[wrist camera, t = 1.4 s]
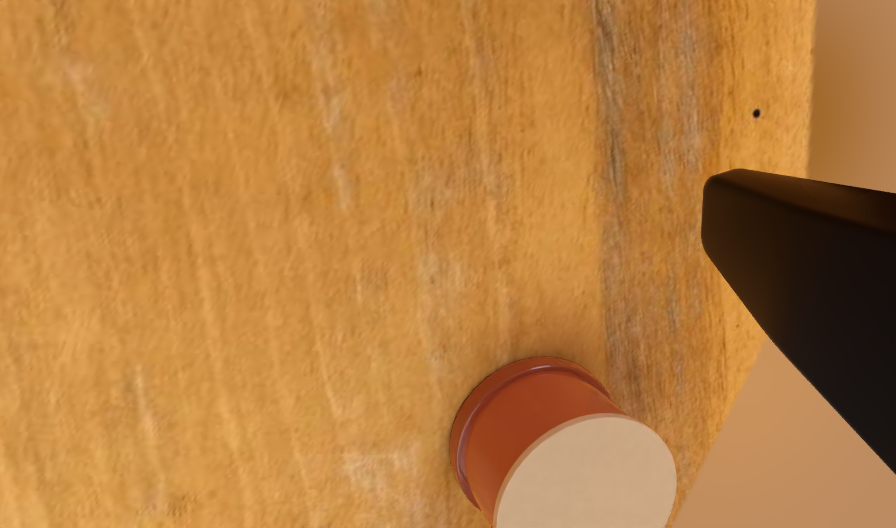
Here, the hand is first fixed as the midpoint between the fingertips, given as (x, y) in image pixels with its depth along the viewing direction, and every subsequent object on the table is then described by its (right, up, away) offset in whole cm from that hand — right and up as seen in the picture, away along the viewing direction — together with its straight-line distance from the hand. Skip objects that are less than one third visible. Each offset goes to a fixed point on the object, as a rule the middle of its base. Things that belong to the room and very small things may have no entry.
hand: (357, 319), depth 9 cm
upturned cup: (+4, -5, +20) cm, 21 cm away
